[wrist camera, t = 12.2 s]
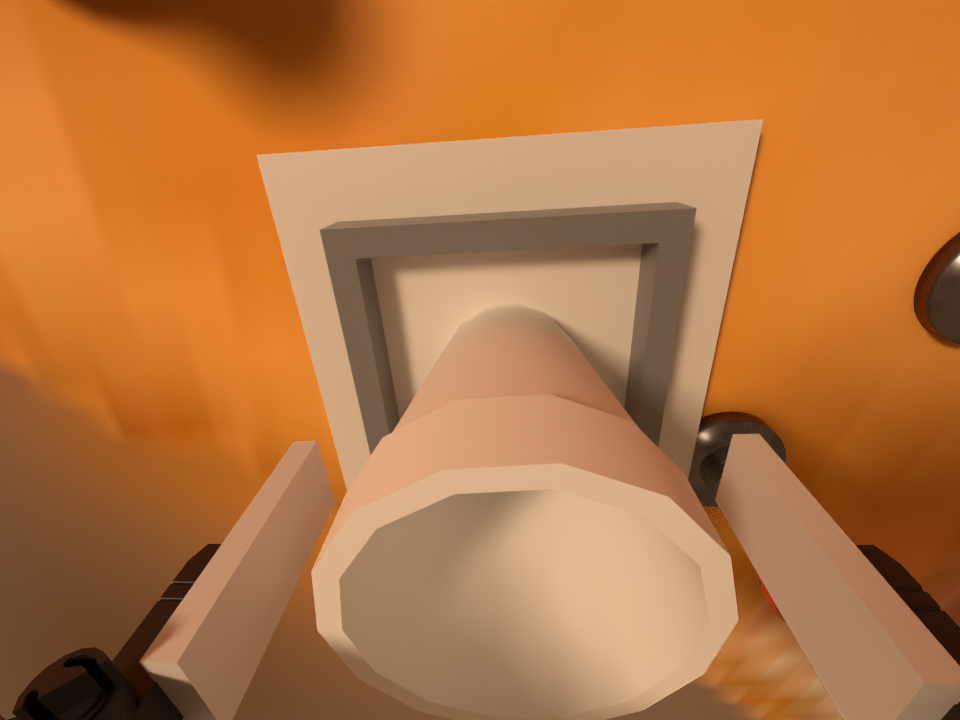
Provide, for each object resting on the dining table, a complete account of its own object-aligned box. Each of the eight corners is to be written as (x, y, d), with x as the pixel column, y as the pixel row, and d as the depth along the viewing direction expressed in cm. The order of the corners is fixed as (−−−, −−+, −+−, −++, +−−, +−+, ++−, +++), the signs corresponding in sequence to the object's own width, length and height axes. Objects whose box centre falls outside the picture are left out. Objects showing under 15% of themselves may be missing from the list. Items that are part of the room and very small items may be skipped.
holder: (268, 154, 18) (228, 156, 16) (749, 120, 17) (796, 115, 14) (357, 498, 27) (341, 536, 24) (675, 494, 26) (696, 534, 23)
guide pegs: (644, 456, 25) (725, 632, 16) (1038, 176, 17) (1612, 207, 8) (706, 508, 26) (811, 695, 17) (1091, 272, 19) (1618, 385, 10)
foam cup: (394, 407, 23) (284, 680, 11) (445, 241, 19) (355, 399, 7) (557, 457, 24) (613, 755, 12) (639, 312, 20) (841, 550, 8)
